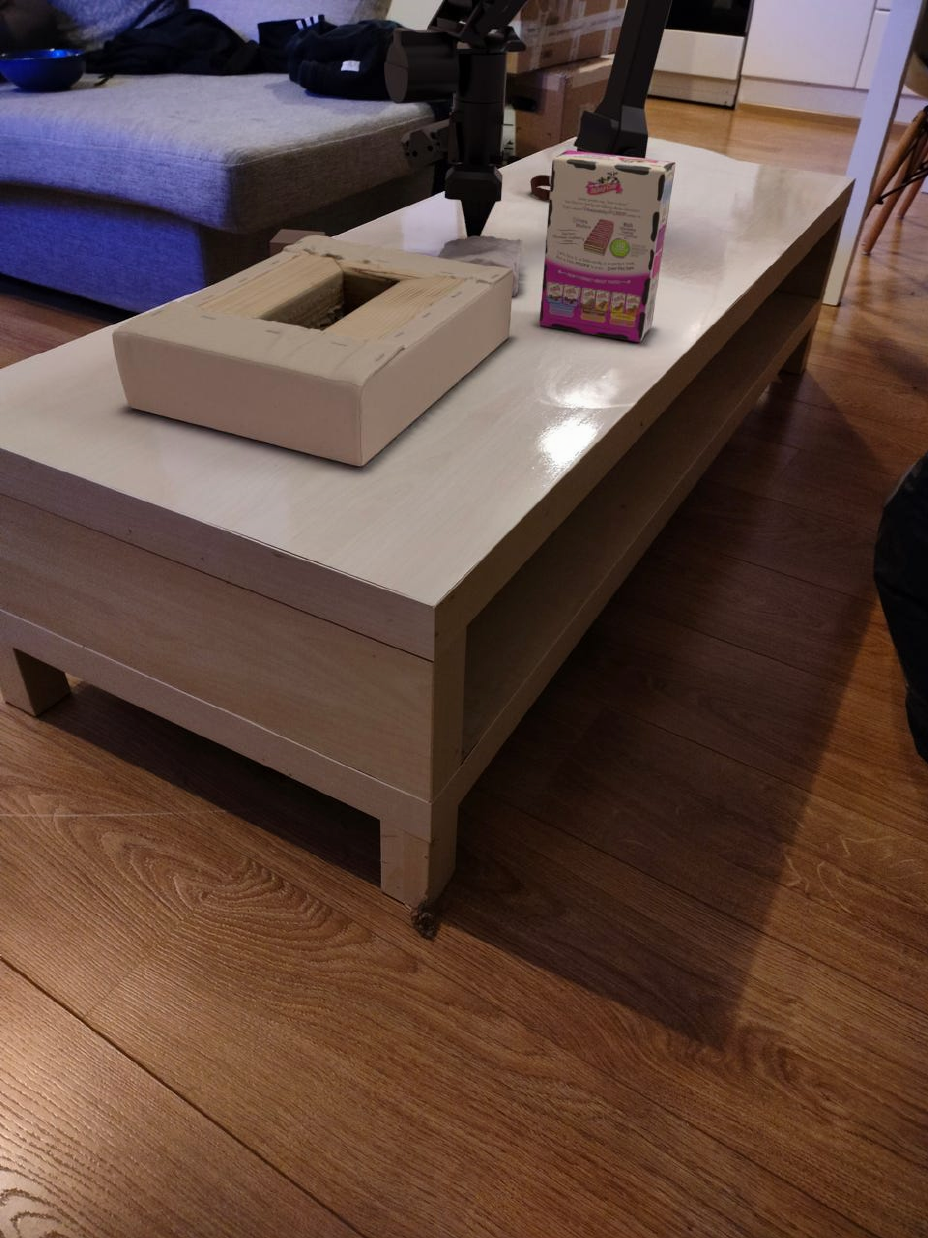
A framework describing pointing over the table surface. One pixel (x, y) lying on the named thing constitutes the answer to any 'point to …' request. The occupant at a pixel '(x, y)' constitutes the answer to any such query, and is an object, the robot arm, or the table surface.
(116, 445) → the table surface
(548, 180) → the watch
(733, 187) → the table surface
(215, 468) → the table surface
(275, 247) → the walnut cube
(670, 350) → the table surface
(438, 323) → the box
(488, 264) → the stone block
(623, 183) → the candy bar box
